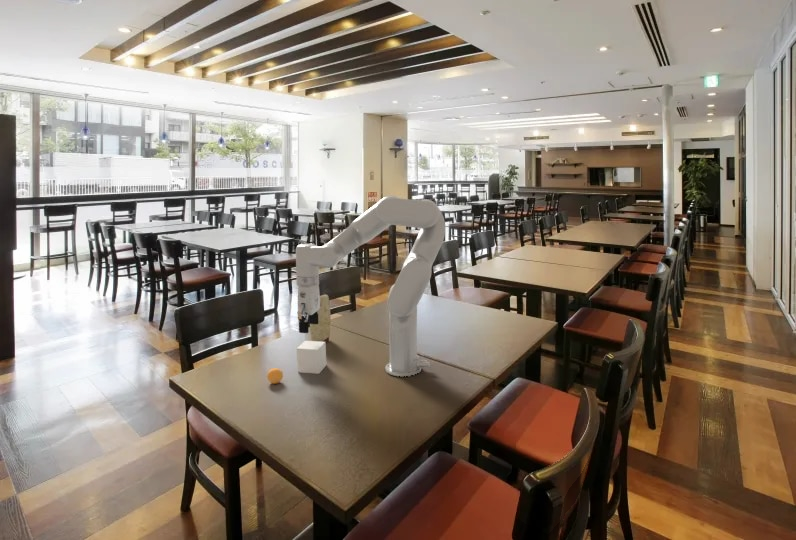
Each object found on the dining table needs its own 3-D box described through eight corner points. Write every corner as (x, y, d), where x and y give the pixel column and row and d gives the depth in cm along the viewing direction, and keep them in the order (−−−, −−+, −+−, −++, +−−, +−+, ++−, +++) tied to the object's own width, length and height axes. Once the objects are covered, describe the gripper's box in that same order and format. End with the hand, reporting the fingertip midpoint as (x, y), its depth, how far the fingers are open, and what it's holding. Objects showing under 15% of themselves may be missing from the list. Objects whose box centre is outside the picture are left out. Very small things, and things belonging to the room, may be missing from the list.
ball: (285, 380, 153) (284, 366, 152) (279, 386, 148) (278, 372, 147) (271, 379, 154) (270, 365, 153) (264, 385, 149) (263, 371, 148)
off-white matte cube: (326, 364, 165) (325, 341, 163) (319, 373, 158) (318, 349, 156) (306, 363, 166) (305, 340, 165) (298, 372, 159) (296, 348, 157)
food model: (317, 347, 182) (315, 298, 178) (306, 343, 187) (304, 296, 183) (335, 340, 190) (333, 294, 186) (324, 337, 194) (322, 291, 190)
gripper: (309, 286, 147) (310, 337, 150) (326, 275, 164) (327, 321, 167) (287, 285, 148) (288, 335, 151) (306, 274, 165) (307, 320, 168)
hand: (309, 328), depth 159 cm, fingers open, 9 cm apart
